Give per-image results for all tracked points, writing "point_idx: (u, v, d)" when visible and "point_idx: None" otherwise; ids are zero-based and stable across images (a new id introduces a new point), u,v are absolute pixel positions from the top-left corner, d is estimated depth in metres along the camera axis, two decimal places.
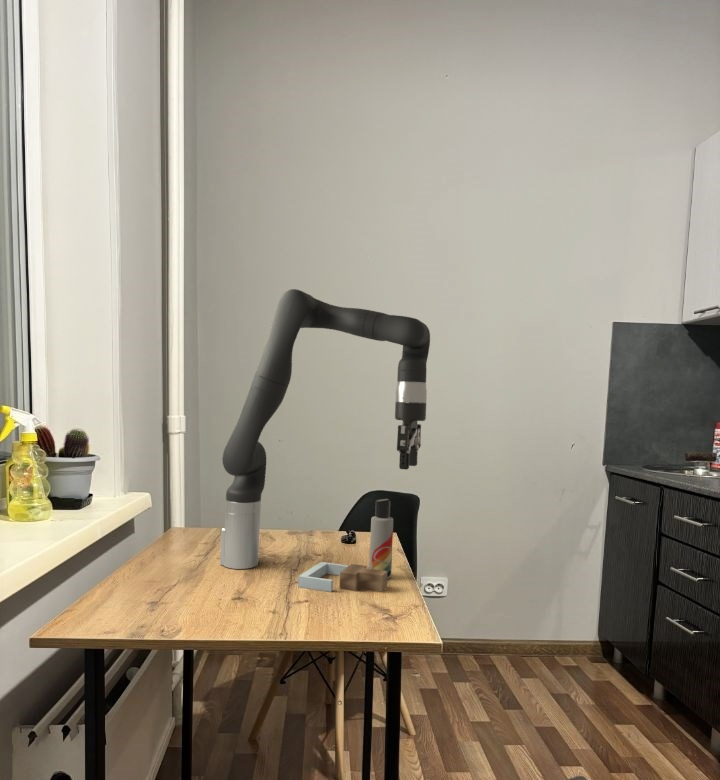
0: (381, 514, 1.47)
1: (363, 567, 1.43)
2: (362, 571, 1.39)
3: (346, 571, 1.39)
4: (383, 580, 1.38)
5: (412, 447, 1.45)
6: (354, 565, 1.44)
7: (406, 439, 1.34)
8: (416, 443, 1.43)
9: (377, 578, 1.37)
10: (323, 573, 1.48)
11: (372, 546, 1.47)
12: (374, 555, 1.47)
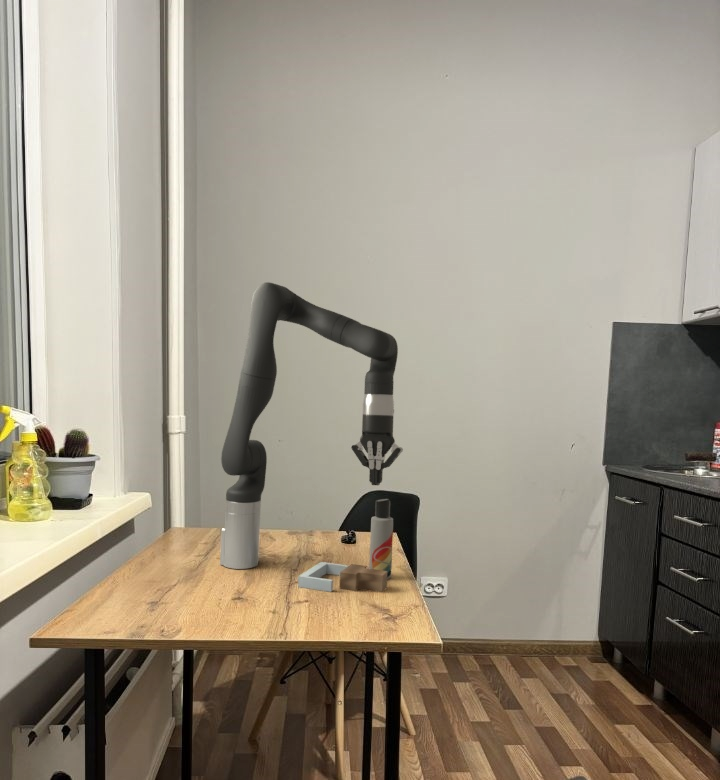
0: (381, 514, 1.47)
1: (363, 567, 1.43)
2: (362, 571, 1.39)
3: (346, 571, 1.39)
4: (383, 580, 1.38)
5: (374, 466, 1.40)
6: (354, 565, 1.44)
7: None
8: (376, 457, 1.41)
9: (377, 578, 1.37)
10: (323, 573, 1.48)
11: (372, 546, 1.47)
12: (374, 555, 1.47)
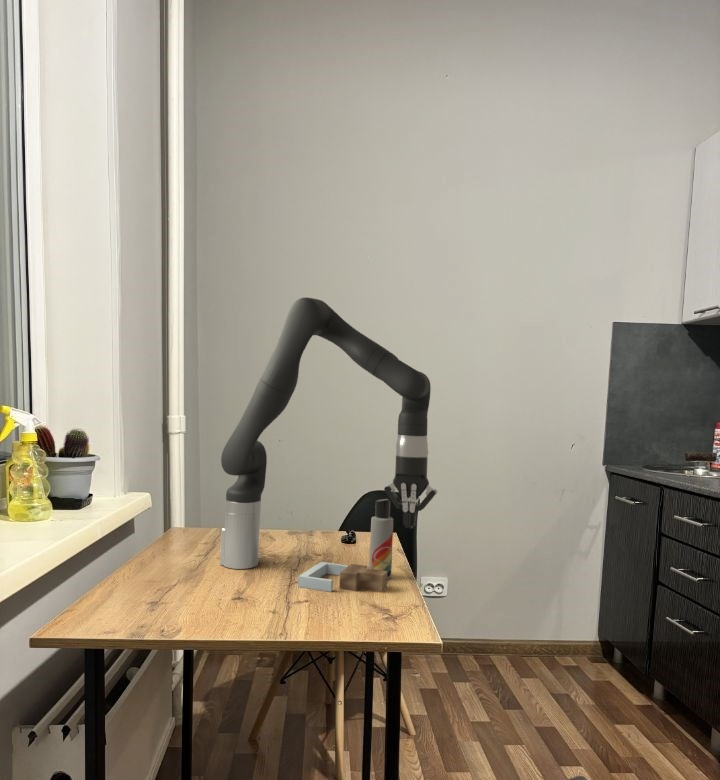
0: (381, 514, 1.47)
1: (363, 567, 1.43)
2: (362, 571, 1.39)
3: (346, 571, 1.39)
4: (383, 580, 1.38)
5: (408, 508, 1.37)
6: (354, 565, 1.44)
7: None
8: (409, 499, 1.38)
9: (377, 578, 1.37)
10: (323, 573, 1.48)
11: (372, 546, 1.47)
12: (374, 555, 1.47)
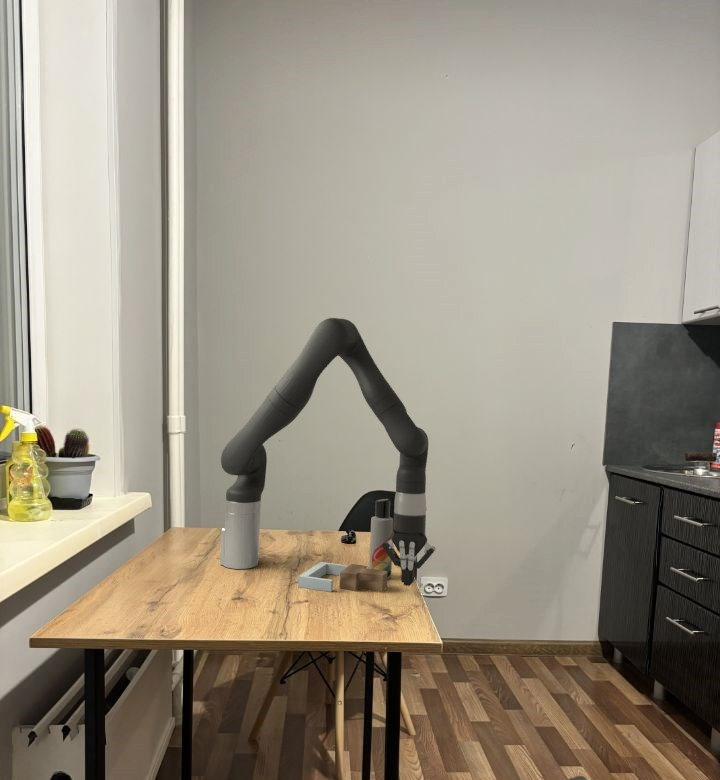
0: (381, 514, 1.47)
1: (363, 567, 1.43)
2: (362, 571, 1.39)
3: (346, 571, 1.39)
4: (383, 580, 1.38)
5: (406, 565, 1.36)
6: (354, 565, 1.44)
7: None
8: (408, 555, 1.38)
9: (377, 578, 1.37)
10: (323, 573, 1.48)
11: (372, 546, 1.47)
12: (374, 555, 1.47)
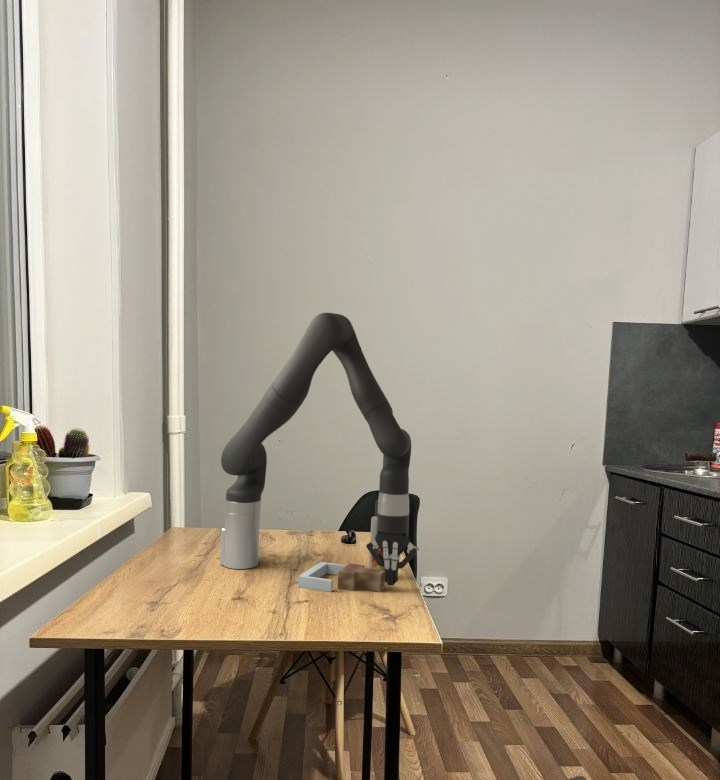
0: None
1: (361, 566, 1.43)
2: (360, 570, 1.39)
3: (344, 570, 1.39)
4: (381, 579, 1.38)
5: (390, 565, 1.38)
6: (352, 564, 1.44)
7: (410, 559, 1.38)
8: (391, 555, 1.39)
9: (375, 578, 1.37)
10: (323, 573, 1.48)
11: None
12: None
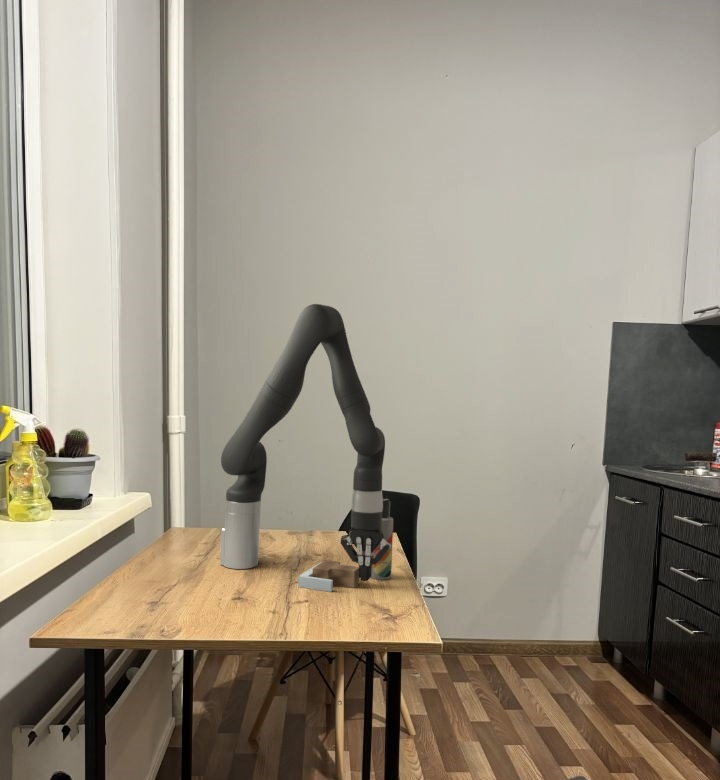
0: None
1: (336, 563, 1.45)
2: (335, 567, 1.41)
3: (319, 567, 1.41)
4: (355, 576, 1.40)
5: (364, 561, 1.40)
6: (327, 561, 1.46)
7: None
8: (365, 551, 1.41)
9: (349, 574, 1.39)
10: None
11: None
12: (374, 555, 1.47)
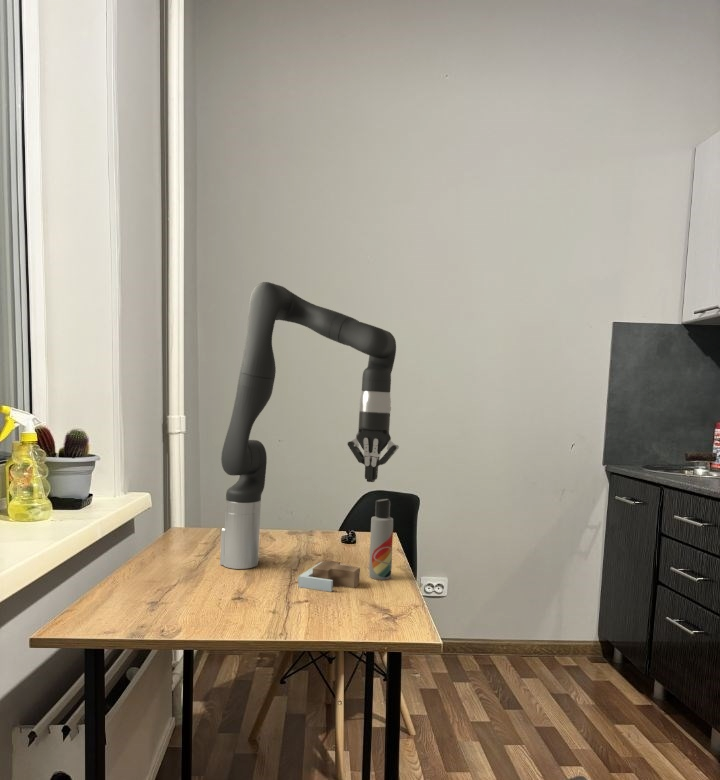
0: (381, 514, 1.47)
1: (336, 563, 1.45)
2: (335, 567, 1.41)
3: (318, 567, 1.41)
4: (355, 576, 1.40)
5: (370, 462, 1.40)
6: (327, 561, 1.46)
7: None
8: (372, 454, 1.42)
9: (349, 575, 1.39)
10: None
11: (372, 546, 1.47)
12: (374, 555, 1.47)
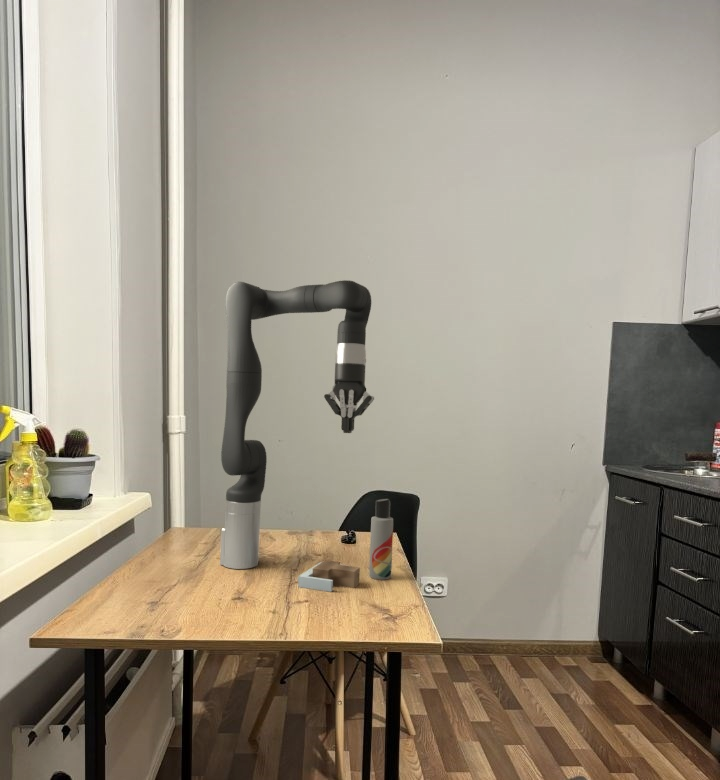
0: (381, 514, 1.47)
1: (336, 563, 1.45)
2: (335, 567, 1.41)
3: (318, 567, 1.41)
4: (355, 576, 1.40)
5: (346, 414, 1.43)
6: (327, 561, 1.46)
7: (366, 408, 1.42)
8: None
9: (349, 575, 1.39)
10: None
11: (372, 546, 1.47)
12: (374, 555, 1.47)
